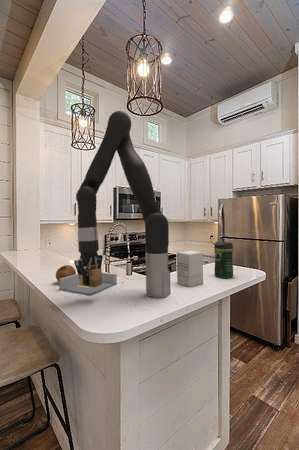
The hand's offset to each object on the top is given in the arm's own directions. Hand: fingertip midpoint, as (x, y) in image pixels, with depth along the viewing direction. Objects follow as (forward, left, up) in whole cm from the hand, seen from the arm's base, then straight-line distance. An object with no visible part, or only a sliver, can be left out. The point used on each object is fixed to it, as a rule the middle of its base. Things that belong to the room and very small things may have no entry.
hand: (90, 283), depth 90 cm
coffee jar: (-39, -58, -7) cm, 70 cm away
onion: (+29, -14, -7) cm, 33 cm away
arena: (+13, -13, -6) cm, 19 cm away
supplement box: (-27, -38, -7) cm, 47 cm away
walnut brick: (0, 0, -1) cm, 1 cm away
